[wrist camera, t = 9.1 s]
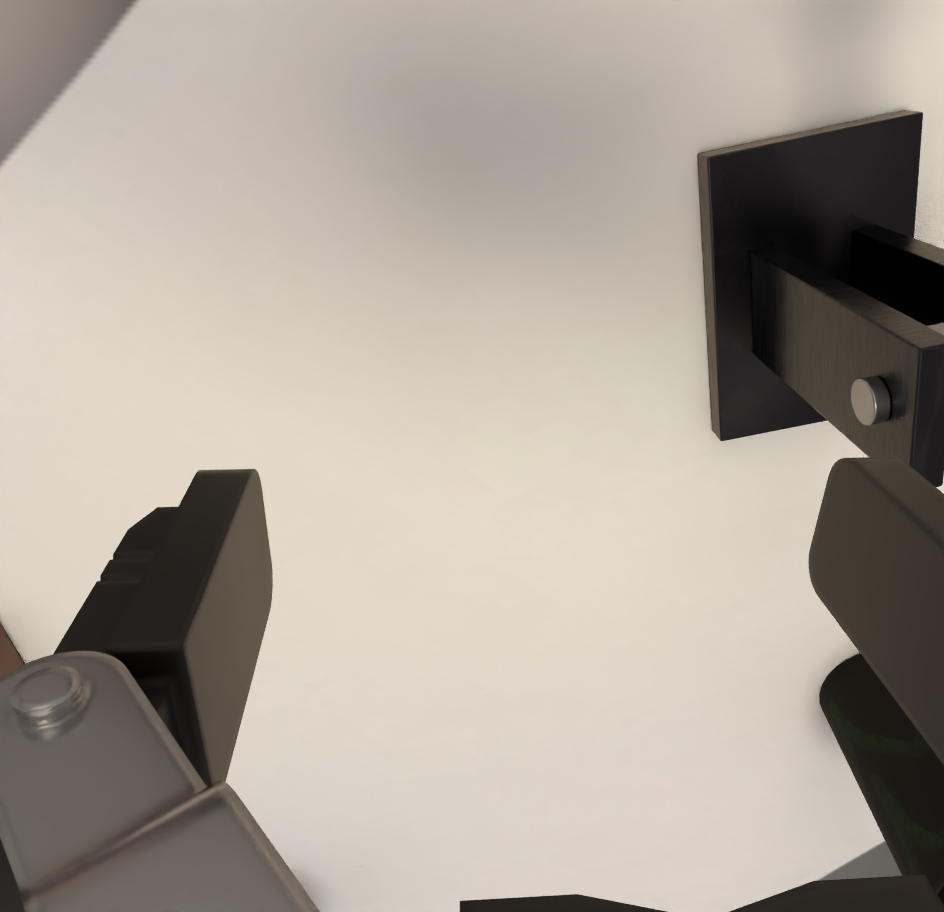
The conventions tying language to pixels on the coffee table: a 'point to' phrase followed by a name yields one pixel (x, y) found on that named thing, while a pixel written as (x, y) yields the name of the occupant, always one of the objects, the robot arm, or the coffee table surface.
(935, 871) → the cup
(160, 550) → the robot arm
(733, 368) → the bracket
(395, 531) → the coffee table surface
